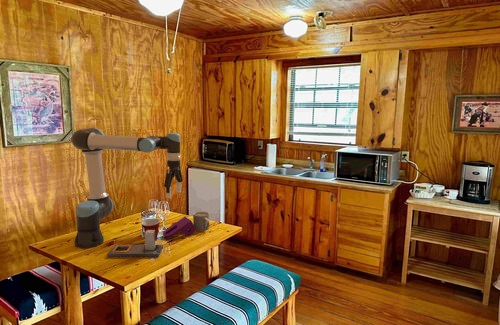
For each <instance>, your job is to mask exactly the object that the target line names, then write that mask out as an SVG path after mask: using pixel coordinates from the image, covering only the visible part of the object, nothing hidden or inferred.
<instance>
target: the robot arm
mask: <svg viewBox="0 0 500 325" xmlns="http://www.w3.org/2000/svg"><path fill="white" fill-rule="evenodd" d="M70 140H71V144H72V146H73V147H74V148H76V149H77V150H80V151H81V153H82V154H84V156H85V164H86V172H87V179H88V187H89V196H88V197H87V200H85V201H82V202H80V203H78V204H77V205H76V210H75V214H76V217H75V218H76V228H77V229H76V230H77V231H76V235H75V239H74V247H76V248H78V247H79V248H80V249H89V248H94V247H98V246H100V245H101V246H102V244H103V243H104V242H105V240H104V235H103V233H102V230H101V224H100V223H101V222H100V221H101V220H103V219H104V218H106V217H107V216H109V215H110V213H112V211H113V209H114V202H113V200H112V199H111V198H110V194H109V193H107V192H106V185H105V176H104V168H103V160H102V159H103V158H102V152H103V151H104V150H117V151H120V150H121V151H132V152H143V153H146V154H147V153H151V152H153V151H157V150H166V159H167V161H166V166H167V167H168V168H169V169H166V175H165V180H164V183H163V184H164V185H163V187H164V188H165V198H166V199H172V187H171V186H172V182H173V179H174V178H175V180H176V185H175V186H176V188H175V189H176V193H178V194H181V193H182V183H183V180H184V179H183V178H184V177H183V174H182V169H181V156H182V155H181V135H180V133H178V132H168V133H166V136H163V135H148V136H146V137H140V136H139V137H138V136H123V135H109V134H104V132H103V131H102V130H101V129H99V128H96V127H89V128H88V127H87V128H81V129H78V130H75V131H74V132H73V134H72V135H71V137H70Z"/></svg>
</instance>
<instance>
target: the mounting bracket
mask: <svg viewBox="0 0 500 325" xmlns="http://www.w3.org/2000/svg"><path fill="white" fill-rule="evenodd" d="M180 233H182V234H183V235H184V236H186V237H189V236H193V235H194V233H195V227H194V225H193V220H191V219H190V218H188V217H186V216H184V217H181V218H180V219H178V220H177V221H176V222H175V223H173V224H172V225H170V226H168V228H166V229H165V230H163V233H162V236H163V237H164V239H167V240H168V239H169V240H170V239H172V238H173V237H175V236H176V235H178V234H180Z"/></svg>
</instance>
